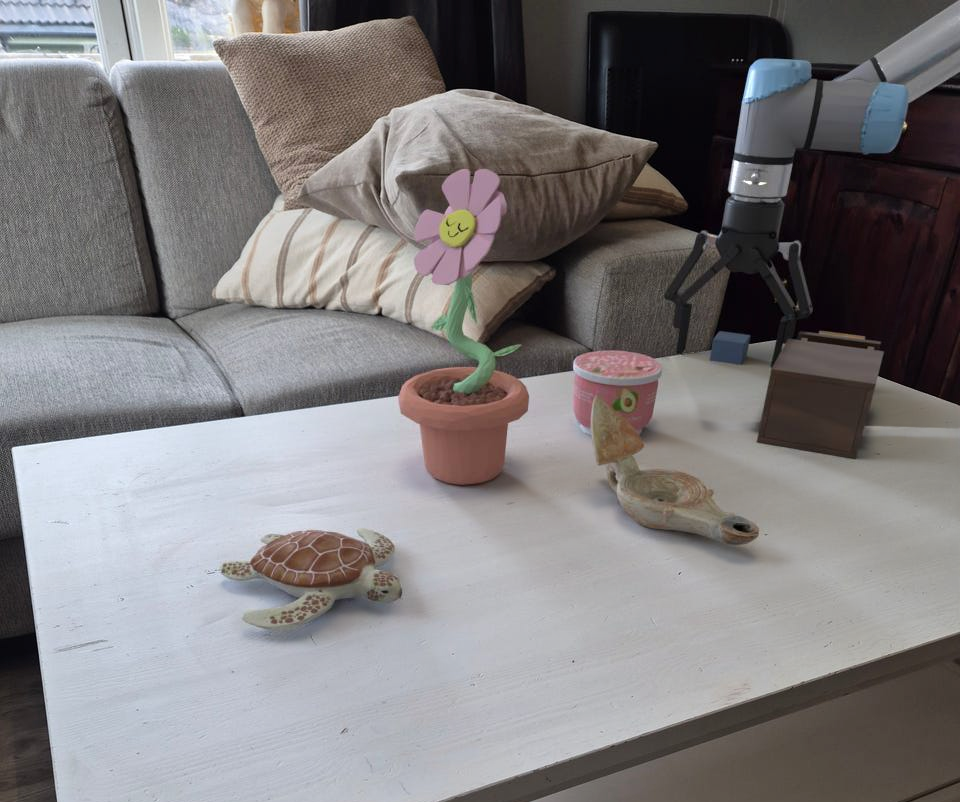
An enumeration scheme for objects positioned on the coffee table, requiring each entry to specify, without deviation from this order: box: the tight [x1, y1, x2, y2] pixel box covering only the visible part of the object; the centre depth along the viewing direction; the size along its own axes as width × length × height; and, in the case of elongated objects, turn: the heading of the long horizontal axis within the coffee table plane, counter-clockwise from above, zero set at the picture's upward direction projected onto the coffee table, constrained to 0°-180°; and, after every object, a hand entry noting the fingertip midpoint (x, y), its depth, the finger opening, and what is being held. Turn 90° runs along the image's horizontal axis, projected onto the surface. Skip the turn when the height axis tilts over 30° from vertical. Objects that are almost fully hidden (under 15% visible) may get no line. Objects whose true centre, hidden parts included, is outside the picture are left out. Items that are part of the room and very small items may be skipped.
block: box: [709, 330, 751, 366], centre depth 132 cm, size 4×4×4 cm
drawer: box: [796, 330, 882, 351], centre depth 120 cm, size 19×10×7 cm, turn 156°
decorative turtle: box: [219, 527, 403, 631], centre depth 79 cm, size 18×17×5 cm
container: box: [572, 350, 663, 436], centre depth 111 cm, size 10×10×8 cm
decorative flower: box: [397, 168, 530, 486], centre depth 93 cm, size 15×14×30 cm
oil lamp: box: [590, 395, 760, 546], centre depth 90 cm, size 9×21×10 cm, turn 40°
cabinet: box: [756, 338, 885, 460], centre depth 111 cm, size 13×11×9 cm
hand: (726, 358), depth 133 cm, fingers open, 13 cm apart
